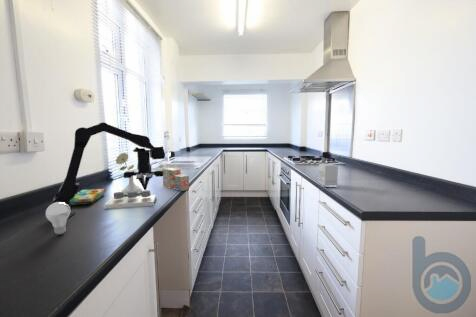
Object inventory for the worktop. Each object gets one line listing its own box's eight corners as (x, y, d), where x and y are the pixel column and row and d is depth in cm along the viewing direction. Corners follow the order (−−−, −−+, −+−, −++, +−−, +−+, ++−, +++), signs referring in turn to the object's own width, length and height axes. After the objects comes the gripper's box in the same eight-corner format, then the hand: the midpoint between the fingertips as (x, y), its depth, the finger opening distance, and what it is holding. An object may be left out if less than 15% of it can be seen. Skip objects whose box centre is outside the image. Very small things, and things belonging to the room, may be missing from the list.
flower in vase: (137, 190, 140) (135, 151, 137) (145, 194, 132) (143, 152, 129) (115, 194, 131) (112, 152, 128) (122, 198, 123) (119, 153, 120)
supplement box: (330, 184, 155) (331, 163, 153) (337, 187, 146) (338, 165, 144) (317, 184, 154) (318, 163, 152) (324, 188, 145) (325, 165, 143)
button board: (153, 205, 112) (153, 201, 111) (104, 208, 107) (104, 204, 107) (156, 198, 123) (156, 194, 123) (112, 201, 118) (112, 197, 118)
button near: (122, 198, 113) (122, 193, 112) (112, 199, 112) (112, 194, 111) (124, 196, 117) (124, 191, 117) (115, 196, 116) (115, 192, 116)
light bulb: (52, 240, 76) (49, 206, 74) (44, 235, 79) (41, 203, 78) (76, 232, 82) (73, 201, 80) (67, 228, 85) (64, 198, 84)
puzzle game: (105, 187, 131) (90, 197, 111) (105, 195, 131) (91, 206, 112) (82, 188, 128) (63, 198, 109) (83, 196, 129) (64, 207, 109)
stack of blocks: (189, 189, 143) (188, 170, 141) (180, 191, 138) (180, 172, 136) (171, 184, 157) (170, 167, 155) (162, 186, 152) (162, 168, 151)
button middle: (136, 197, 114) (135, 193, 114) (126, 198, 113) (126, 193, 113) (137, 195, 118) (137, 190, 118) (129, 195, 117) (128, 191, 117)
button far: (149, 196, 116) (149, 192, 115) (140, 197, 115) (140, 192, 114) (150, 194, 120) (150, 190, 119) (142, 195, 119) (141, 190, 118)
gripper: (164, 158, 125) (165, 185, 127) (128, 158, 121) (129, 187, 122) (162, 160, 114) (163, 190, 116) (122, 161, 110) (124, 192, 112)
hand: (145, 189), depth 117 cm, fingers closed
